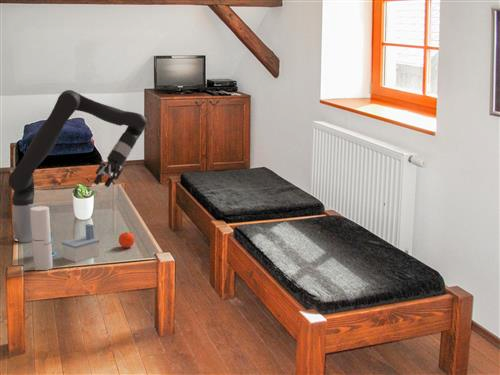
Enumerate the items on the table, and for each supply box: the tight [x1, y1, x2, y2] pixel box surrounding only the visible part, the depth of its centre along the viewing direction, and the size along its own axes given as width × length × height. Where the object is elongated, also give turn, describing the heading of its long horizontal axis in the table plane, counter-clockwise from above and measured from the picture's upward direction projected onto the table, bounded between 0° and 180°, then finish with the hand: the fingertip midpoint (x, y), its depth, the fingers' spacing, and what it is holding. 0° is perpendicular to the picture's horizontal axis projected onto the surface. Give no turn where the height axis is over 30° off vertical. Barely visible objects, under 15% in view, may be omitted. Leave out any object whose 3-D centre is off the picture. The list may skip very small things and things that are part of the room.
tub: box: [61, 241, 100, 263], centre depth 319 cm, size 12×9×6 cm
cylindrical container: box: [30, 205, 54, 271], centre depth 302 cm, size 7×7×25 cm
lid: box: [61, 223, 100, 248], centre depth 318 cm, size 12×9×8 cm
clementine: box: [118, 231, 135, 249], centre depth 333 cm, size 8×7×7 cm
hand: (100, 184), depth 326 cm, fingers open, 8 cm apart
